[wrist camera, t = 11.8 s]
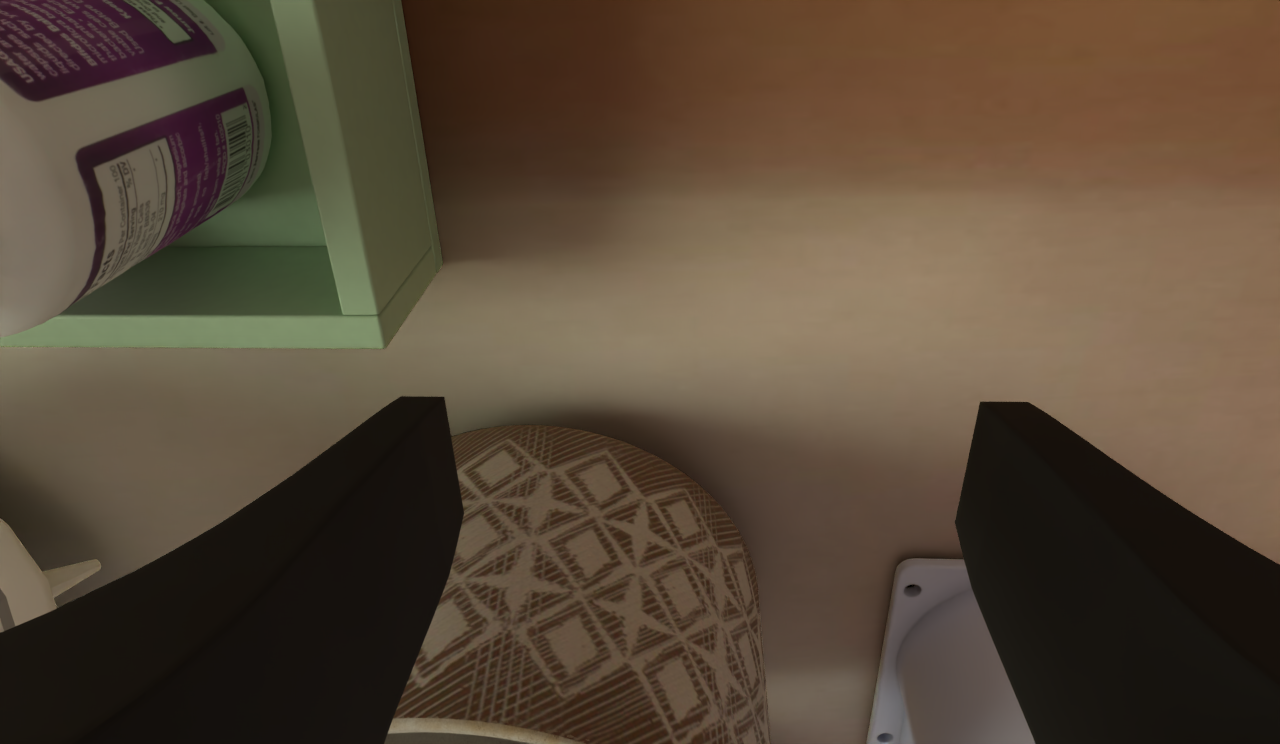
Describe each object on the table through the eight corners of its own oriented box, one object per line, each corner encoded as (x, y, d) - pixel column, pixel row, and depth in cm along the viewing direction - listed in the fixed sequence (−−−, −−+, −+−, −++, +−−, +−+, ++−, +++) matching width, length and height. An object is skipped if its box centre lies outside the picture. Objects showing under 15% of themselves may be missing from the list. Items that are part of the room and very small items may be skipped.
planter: (276, 485, 25) (46, 810, 16) (650, 337, 22) (615, 645, 13) (488, 734, 31) (401, 1081, 22) (813, 647, 28) (868, 1013, 19)
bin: (443, 265, 22) (386, 350, 18) (56, 265, 22) (-84, 347, 18) (364, -239, 16) (256, -279, 12) (-142, -216, 17) (-399, -248, 13)
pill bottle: (4, 37, 19) (-585, 153, 11) (171, -82, 17) (-370, -56, 9) (165, 243, 21) (-216, 474, 13) (328, 154, 19) (11, 353, 11)
